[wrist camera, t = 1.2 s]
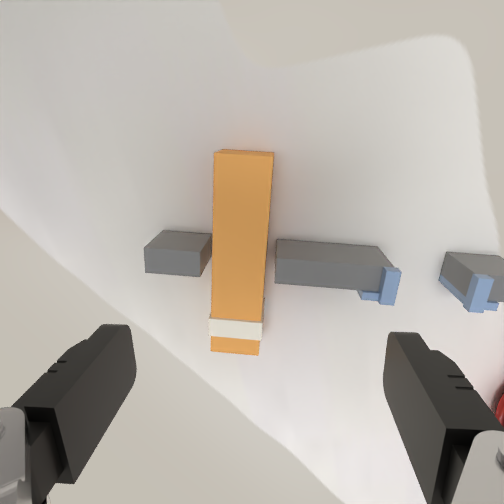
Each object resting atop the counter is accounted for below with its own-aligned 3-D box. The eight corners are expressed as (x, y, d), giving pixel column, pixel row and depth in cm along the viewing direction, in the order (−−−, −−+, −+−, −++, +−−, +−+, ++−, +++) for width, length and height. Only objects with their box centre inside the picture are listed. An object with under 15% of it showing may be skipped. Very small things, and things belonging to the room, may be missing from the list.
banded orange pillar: (216, 325, 32) (208, 353, 28) (221, 149, 27) (211, 153, 23) (262, 329, 32) (259, 358, 28) (276, 152, 27) (275, 157, 23)
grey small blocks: (164, 258, 30) (141, 284, 25) (163, 230, 30) (139, 251, 25) (489, 284, 29) (532, 317, 24) (498, 256, 28) (546, 283, 23)
